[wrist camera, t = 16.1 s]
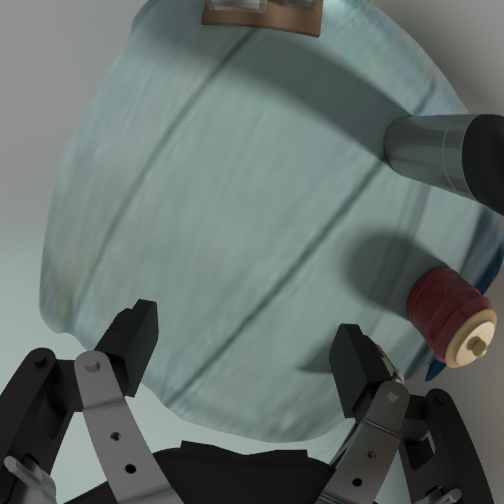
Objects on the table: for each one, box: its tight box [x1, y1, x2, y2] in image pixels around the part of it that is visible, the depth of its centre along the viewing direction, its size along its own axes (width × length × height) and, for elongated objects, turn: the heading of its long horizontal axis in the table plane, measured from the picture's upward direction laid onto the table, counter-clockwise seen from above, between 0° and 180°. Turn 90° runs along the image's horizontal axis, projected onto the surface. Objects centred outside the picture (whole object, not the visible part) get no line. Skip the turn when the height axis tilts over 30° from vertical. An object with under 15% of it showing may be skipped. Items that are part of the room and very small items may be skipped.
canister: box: [407, 267, 497, 368], centre depth 35 cm, size 13×13×18 cm
